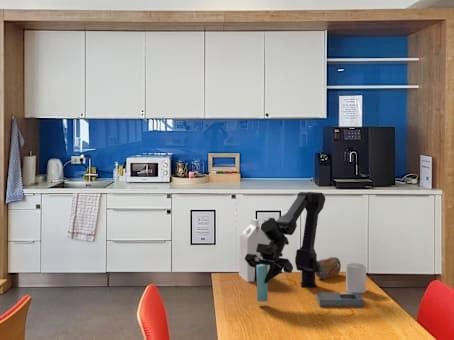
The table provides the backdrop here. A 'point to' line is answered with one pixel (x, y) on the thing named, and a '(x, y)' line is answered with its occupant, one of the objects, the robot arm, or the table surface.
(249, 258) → the robot arm
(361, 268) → the mug
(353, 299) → the flange plate
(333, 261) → the tin
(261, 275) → the peg
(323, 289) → the table surface
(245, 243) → the milk
